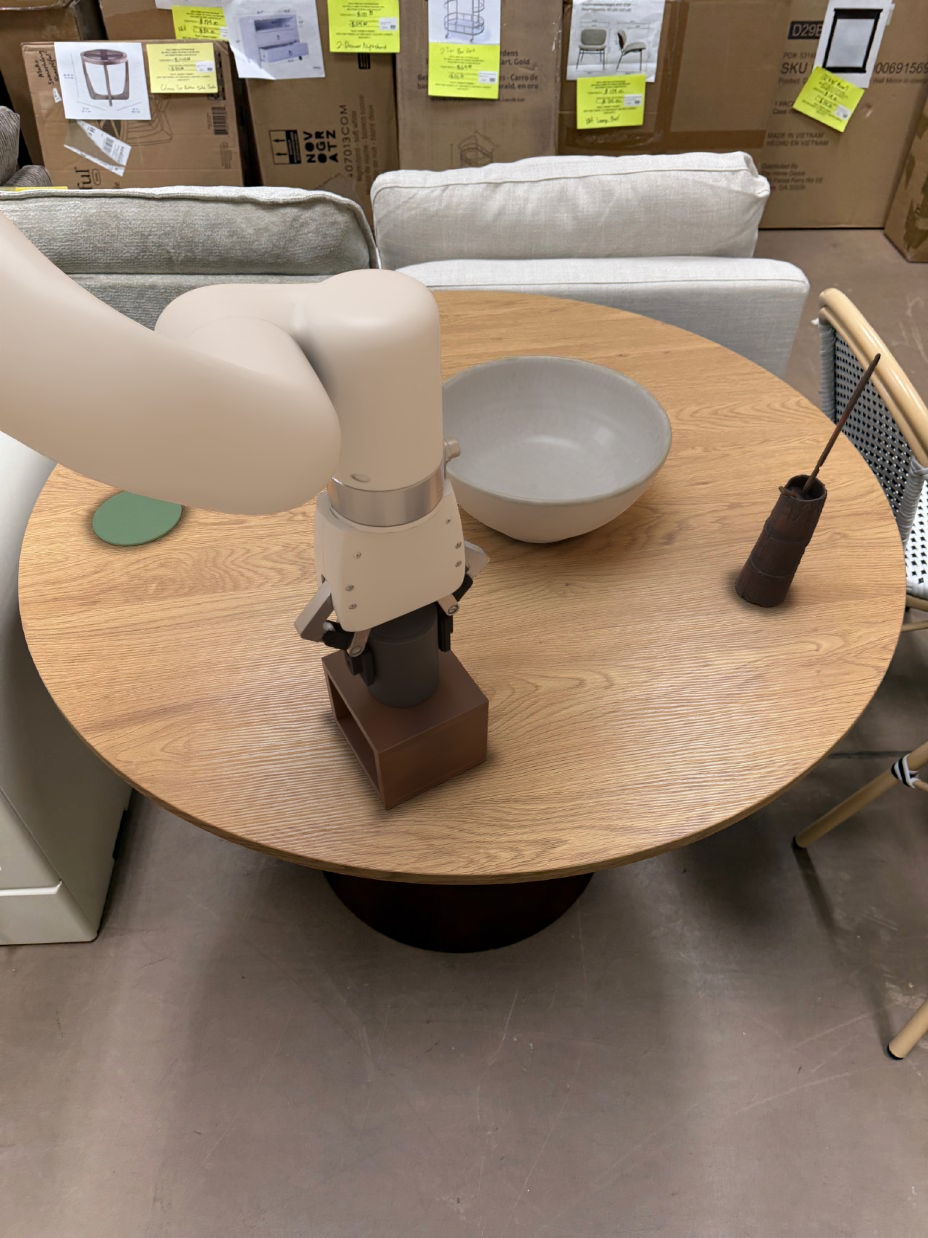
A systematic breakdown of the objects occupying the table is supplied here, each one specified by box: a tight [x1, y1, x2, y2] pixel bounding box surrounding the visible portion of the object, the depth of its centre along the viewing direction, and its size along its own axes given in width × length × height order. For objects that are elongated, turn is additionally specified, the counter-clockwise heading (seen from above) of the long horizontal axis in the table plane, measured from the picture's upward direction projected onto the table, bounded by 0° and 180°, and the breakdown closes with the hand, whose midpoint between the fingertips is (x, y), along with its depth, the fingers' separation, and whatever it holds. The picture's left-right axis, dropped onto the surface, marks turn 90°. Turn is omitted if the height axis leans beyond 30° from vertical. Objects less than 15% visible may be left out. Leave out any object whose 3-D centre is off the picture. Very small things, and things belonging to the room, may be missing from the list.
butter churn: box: [734, 352, 882, 608], centre depth 76 cm, size 9×10×28 cm
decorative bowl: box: [442, 354, 673, 544], centre depth 91 cm, size 27×27×12 cm
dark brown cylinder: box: [366, 602, 439, 708], centre depth 64 cm, size 6×6×8 cm
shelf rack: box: [320, 648, 490, 811], centre depth 71 cm, size 10×11×9 cm
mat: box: [91, 490, 183, 547], centre depth 94 cm, size 10×10×1 cm
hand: (401, 655), depth 65 cm, fingers closed on dark brown cylinder, 6 cm apart
